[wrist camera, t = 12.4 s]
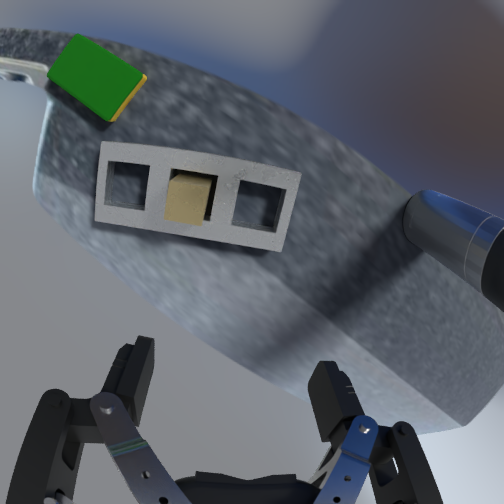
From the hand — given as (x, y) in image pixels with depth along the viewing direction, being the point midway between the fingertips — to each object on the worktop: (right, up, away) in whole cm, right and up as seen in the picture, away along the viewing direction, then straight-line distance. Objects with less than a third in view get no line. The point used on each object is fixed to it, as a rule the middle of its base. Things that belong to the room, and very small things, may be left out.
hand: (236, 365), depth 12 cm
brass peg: (-6, +13, +21) cm, 25 cm away
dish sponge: (-19, +28, +14) cm, 37 cm away
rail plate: (-6, +13, +21) cm, 25 cm away
